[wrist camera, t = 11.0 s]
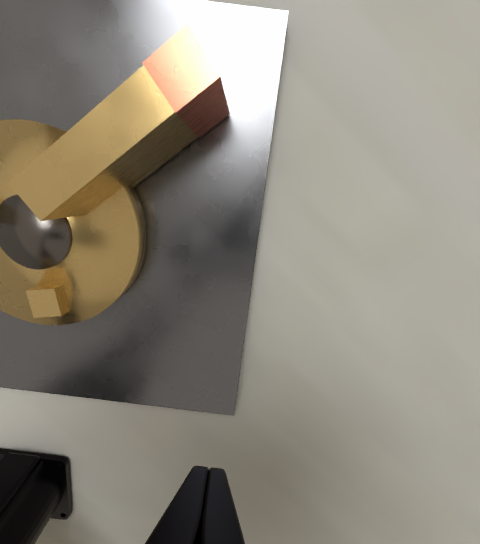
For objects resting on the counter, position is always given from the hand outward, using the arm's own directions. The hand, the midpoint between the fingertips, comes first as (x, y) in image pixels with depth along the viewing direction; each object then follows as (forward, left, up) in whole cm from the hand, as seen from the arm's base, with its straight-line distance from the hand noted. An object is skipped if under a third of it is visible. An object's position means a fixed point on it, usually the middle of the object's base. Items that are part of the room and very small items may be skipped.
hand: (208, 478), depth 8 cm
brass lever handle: (+6, +9, -11) cm, 16 cm away
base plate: (+4, +11, -12) cm, 17 cm away
